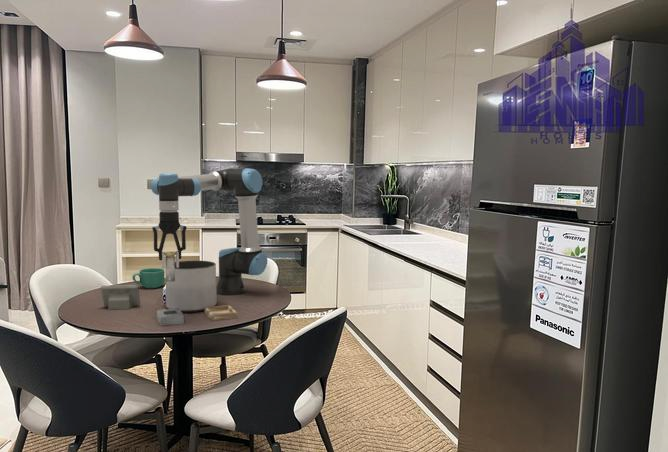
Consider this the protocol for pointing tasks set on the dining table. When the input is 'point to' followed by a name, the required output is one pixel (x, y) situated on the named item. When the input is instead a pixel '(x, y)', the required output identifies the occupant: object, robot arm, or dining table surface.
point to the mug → (150, 277)
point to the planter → (192, 286)
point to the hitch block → (170, 316)
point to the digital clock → (120, 296)
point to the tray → (220, 312)
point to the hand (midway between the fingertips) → (170, 267)
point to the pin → (170, 266)
